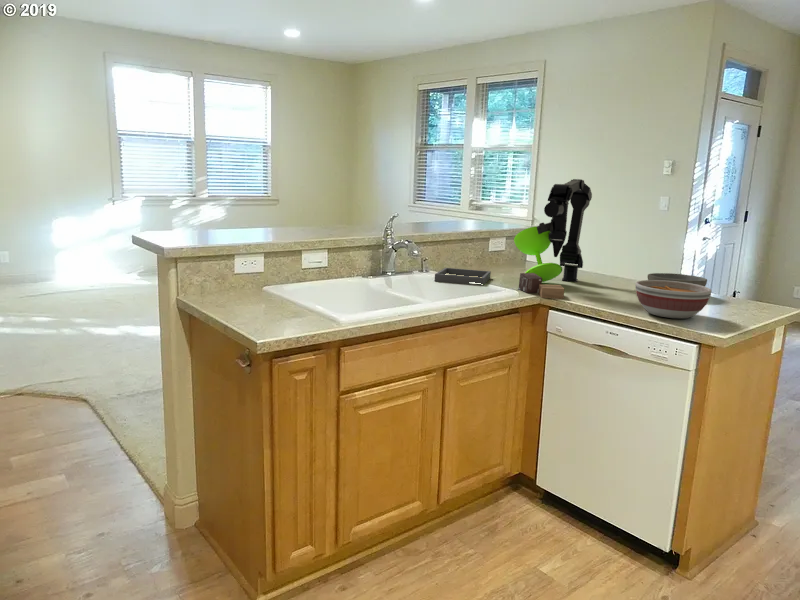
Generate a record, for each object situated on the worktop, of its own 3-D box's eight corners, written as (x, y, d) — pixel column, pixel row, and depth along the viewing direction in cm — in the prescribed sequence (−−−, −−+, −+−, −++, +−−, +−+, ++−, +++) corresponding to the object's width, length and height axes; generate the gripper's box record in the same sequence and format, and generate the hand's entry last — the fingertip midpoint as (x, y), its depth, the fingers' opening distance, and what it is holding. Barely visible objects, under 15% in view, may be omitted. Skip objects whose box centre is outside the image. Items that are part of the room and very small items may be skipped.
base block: (538, 294, 230) (539, 284, 230) (559, 295, 230) (560, 285, 229) (541, 298, 223) (542, 287, 222) (563, 299, 222) (564, 288, 221)
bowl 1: (645, 297, 232) (647, 276, 230) (645, 289, 251) (647, 270, 249) (706, 303, 224) (709, 282, 222) (702, 294, 243) (705, 274, 241)
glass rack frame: (445, 274, 267) (445, 267, 267) (490, 278, 262) (490, 271, 261) (434, 281, 248) (434, 274, 248) (483, 285, 243) (483, 278, 242)
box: (520, 272, 235) (528, 277, 228) (534, 272, 236) (542, 277, 230) (518, 287, 237) (526, 293, 230) (532, 287, 238) (540, 293, 232)
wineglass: (518, 284, 253) (509, 247, 261) (554, 281, 256) (543, 245, 264) (530, 265, 239) (520, 226, 246) (568, 263, 242) (557, 225, 249)
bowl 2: (671, 325, 186) (675, 293, 184) (617, 309, 206) (620, 280, 204) (723, 321, 195) (728, 290, 193) (667, 306, 215) (670, 278, 213)
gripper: (540, 214, 250) (537, 251, 253) (537, 216, 233) (533, 256, 236) (568, 215, 247) (564, 253, 250) (567, 218, 230) (563, 259, 233)
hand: (556, 255), depth 242 cm, fingers open, 9 cm apart
